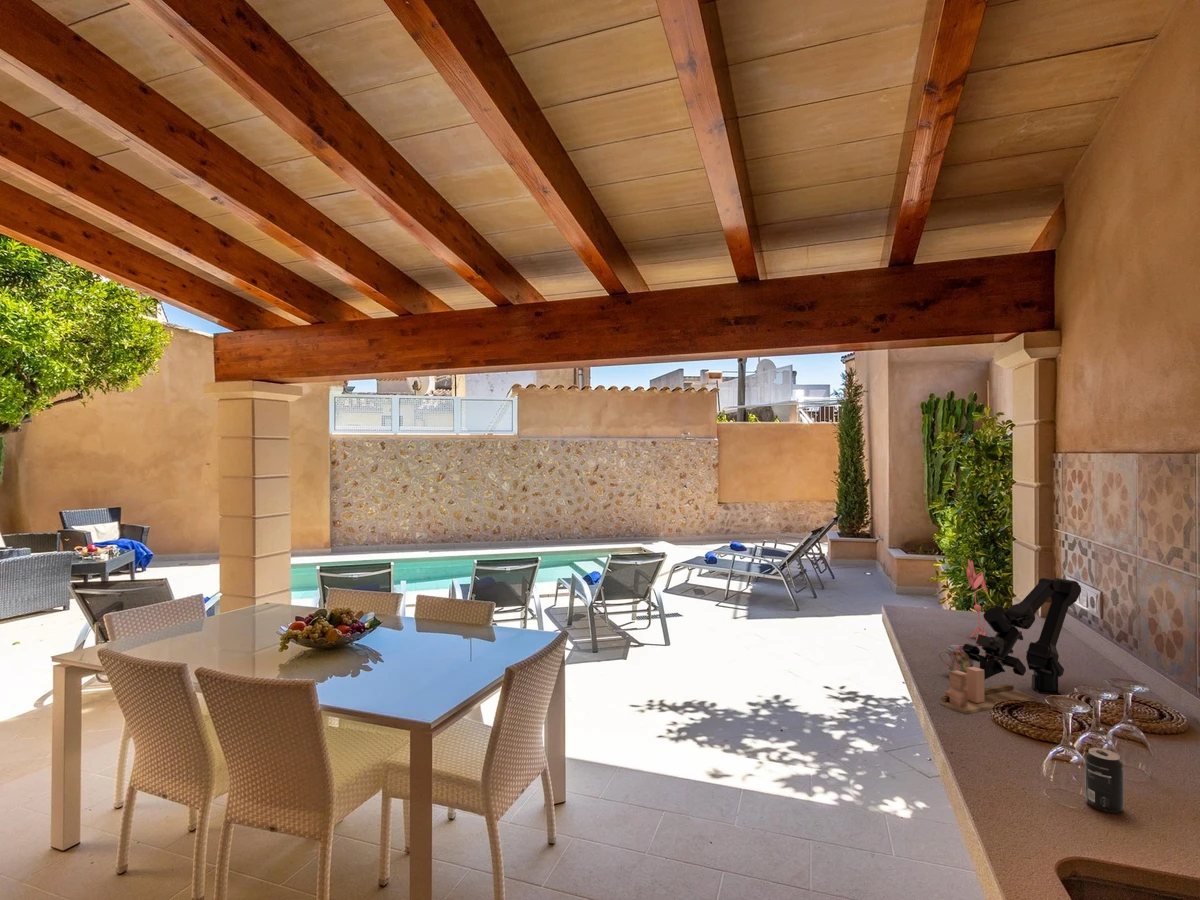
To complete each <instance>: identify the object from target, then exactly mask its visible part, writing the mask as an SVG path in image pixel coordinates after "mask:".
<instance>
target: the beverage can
mask: <svg viewBox="0 0 1200 900" xmlns="http://www.w3.org/2000/svg"><path fill="white" fill-rule="evenodd" d="M1120 757H1121V756H1120V755H1119V754H1118V753H1116V752H1114V751H1113V750H1112V751H1111V750H1109V749H1105V748H1099V747H1092V748H1088V753H1086V754H1085V757H1084V783H1085V784H1084V785H1085V786H1084V789H1085V790H1084V791H1085V792H1084V794H1085V796H1084V797H1085V800H1086V802H1087V803H1088V804H1089V805H1090V806H1092V807H1093V808H1094V809H1097V810H1099V811H1101V812H1104V813H1109V814H1110V813H1111V814H1115V813H1118V812H1121V811H1123V810H1124V809H1125V808H1124V806H1125V805H1124V803H1125V802H1124V799H1125V798H1124V797H1125V794H1124V791H1125V789H1124V785H1125V784H1124V783H1125V782H1124V781H1125V780H1124V779H1125V778H1124V770H1125V769H1124V763H1123V762H1122V761H1121V758H1120Z"/></svg>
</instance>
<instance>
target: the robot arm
mask: <svg viewBox="0 0 1200 900" xmlns="http://www.w3.org/2000/svg"><path fill="white" fill-rule="evenodd" d="M1081 593H1082V586H1081V585H1080V584H1079V582H1077V581H1076V580H1071V579H1067V578H1066V579H1065V578H1059V577H1055V578H1048V577H1041V578H1039V580H1038V583H1037V584H1036V585H1035V586H1034V587H1033V589H1032V590H1031V591H1030V592H1029V593H1028V594H1027V595H1026V596H1025V597H1024V599H1023V600H1022V601H1020V602H1018V603H1016V604H1012V605H1011V606H1009V607H1008V608H1006V610H1005V609H1004V608H1003V606H1000V605H995V607H993V608H992V607H991V608H989V609H987V610H985V611H984V613H983V615H984V616H983V620H984V619H985V623H987V624H988V625H989V627H990V628H991V629H992V631H994V632H995V633H996V634H995V635H994V636H987V635H985V636H984V635H981V634H979V633H978V634H977V636H978V637H977V636H976V639H977V641H975V644H976V645H975V644H971V643H964V644H963V645H964V646H963V645H962V646H963V647H962V650H963V651H964V652H965V654H966V655H967V656H968V657H969V658H970V659H971V660H974V662H976V663H977V662H978V663H979V668H980V669H983V670H984V681H985V680H987V679H989V678H991V677H992V676H996V675H998V674H1001V673H1005V672H1006V670H1005V669H1006V668H1007V667H1010V668H1012V671H1013V673H1014V675H1018V676H1025V674H1026V672H1027V668H1026V665H1024V663H1023V662H1022V661H1021V660H1020V658H1018V657H1015V656H1012V655H1013V654H1014V652H1015V651H1014V650H1013V648H1014V646H1015V644H1016V643H1017V641H1018V640H1019V641H1024V636H1023V634H1022V633H1023V632H1022V631H1021V630H1019V629H1022V630H1029V629H1030V628H1031V627H1032V626H1033V624H1034V623H1035V621H1036V613H1037V612H1038V610H1040V609H1041V607H1042V606H1043V605H1044V604H1045V603H1046V602H1047V600H1048V599H1049V598H1050V600H1051V601H1050V605H1049V608H1048V610H1047V614H1046V616H1045V619H1044V623H1043V626H1042V628H1041V632H1040V635H1039V638H1038V640H1037V641H1035V642H1032V641H1031V642H1030V643H1029V645H1028V648H1027V651H1026V654H1025V660H1026V662H1027V667H1028V670H1031V671H1033V674H1031V688H1033V689H1034V690H1035V691H1036V692H1038V693H1040V694H1051V695H1061V692H1060V691H1059V678H1060V677H1062V676H1063V675H1064V671H1065V668H1064V667H1063V666H1062V664H1061V663H1060V662H1059V657H1060V655H1059V653H1058V649H1057V643H1058V641H1059V638H1060V633H1061V631H1062V628H1063V625H1064V621H1065V619H1066V615H1067V612H1068V610H1069V607H1070V606H1072V605H1073V604H1074V603H1076V602H1077V601H1078V599H1079V597H1080V594H1081ZM977 644H978V645H977ZM979 645H980V646H981V649H982V650H980V649H979V647H978V646H979ZM1009 654H1010V655H1009Z"/></svg>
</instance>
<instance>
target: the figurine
mask: <svg viewBox="0 0 1200 900" xmlns="http://www.w3.org/2000/svg"><path fill="white" fill-rule="evenodd" d="M974 568H975V566H974V561H973V560H970V559H969V558H968V559H967V568H966V571H965V572H966V573H965V574H966V576H967V579H968V586H969V587H971V588H972V590H974V589H975V591H974V592H973V596H974V602H975V604H974V605H973V609H974V610H975V611H977V612H978V613H977V621H978V622H977V628H976V629H975V630H974V631H973V632H972V634H971V635H970V636H969V638H972V637H973V636H974V635H975V634H976V633H978V631H979V633H978V634H981V635H984V636H986V631H985V630H984V628H985V624H986V620H985V619H984V618H983V624H982V625H983V626H982V625H980V614H981V615H982V616H983V617H984V613H982V612H981V610H982V607H981V605H980V604H977V596H976V593H977V592H979V591H981V590H985V592H988V587H987V584H986V581H985V578H984V573H983V571H980V572H979V573H978V574H976V571H975V569H974ZM979 586H981V587H980V588H979V589H977V588H978V587H979ZM976 589H977V590H976ZM981 627H982V628H981ZM977 637H978V635H977V636H976V641H977ZM976 641H975V642H976ZM976 646H979V644H976Z"/></svg>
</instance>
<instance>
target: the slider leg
mask: <svg viewBox="0 0 1200 900" xmlns="http://www.w3.org/2000/svg"><path fill="white" fill-rule="evenodd" d="M984 688H985V680H984V670H983V669H980V667H976V666H973V667H969V668H967V700H970V701H972V702H975V703H980V702H985V696H984Z"/></svg>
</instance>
